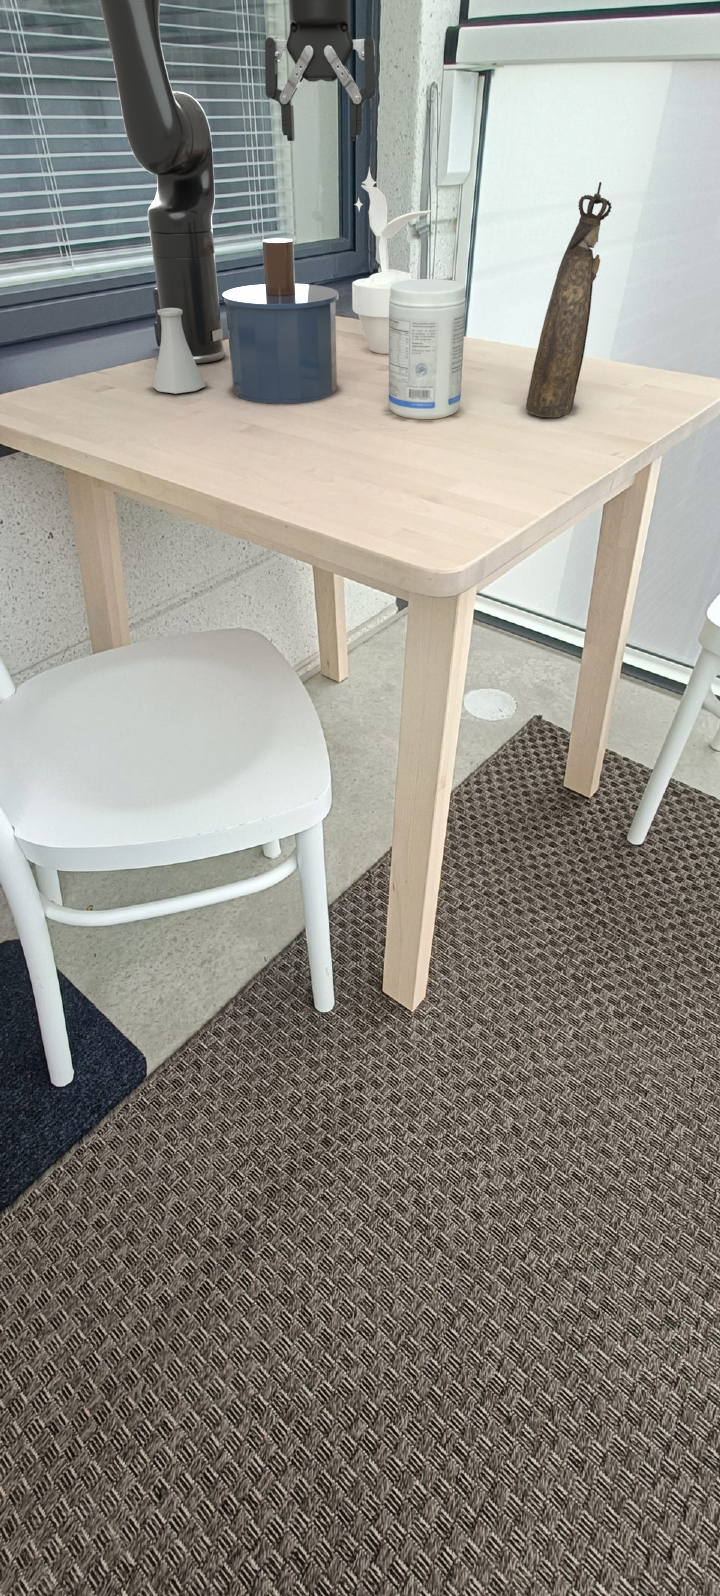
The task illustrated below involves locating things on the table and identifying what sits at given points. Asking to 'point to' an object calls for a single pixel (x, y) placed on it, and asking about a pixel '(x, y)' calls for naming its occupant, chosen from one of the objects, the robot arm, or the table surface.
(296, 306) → the lid
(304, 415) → the table surface
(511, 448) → the table surface
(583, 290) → the statue
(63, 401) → the table surface
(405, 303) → the supplement tub
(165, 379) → the flask
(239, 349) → the canister
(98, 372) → the table surface
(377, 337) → the potted plant
